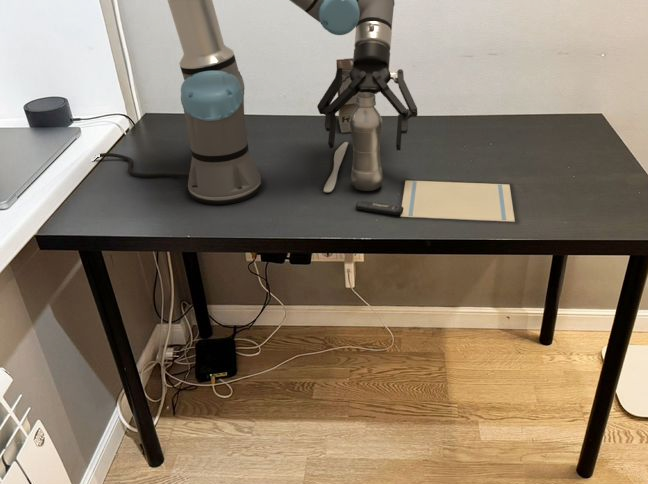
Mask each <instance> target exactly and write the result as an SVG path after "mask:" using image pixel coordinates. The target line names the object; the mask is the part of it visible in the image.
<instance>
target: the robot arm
mask: <svg viewBox="0 0 648 484" xmlns="http://www.w3.org/2000/svg"><path fill="white" fill-rule="evenodd" d="M289 2H291V3H292V4H293V5H295V6H296V7H298V8H299V9H300V10H302V11H304V12H305V13H306V14H307V15H309V16H310V17H311V18H313V19H314V20H316V21H317V22H318V23H320V25H321V26H322V28H323V29H324V30H325V31H327V32H328V33H330V34H332V35H334V36H344V35H348V34H349V33H351V32H352V31H353V30H354V29H355V35H354V46H353V47H354V49H353V67H352V70H351V71H343V70H342V68H338V69H337V68H336V72H335V76H334V78H333V80H332V81H331V83H330V85H329V87H328V88H327V89H326V91H325V93H324V95H322V97H321V99H320V100H319V102H318V104H317V106H316V107H317V110H318V113H319V114H320V115H325V117H324V128H325V131H326V132H328V141H327V144H328V146H329V149H335V138H336V130H337V129H336V126H337V116H336V114H337V113H339V110H340V109H341V108H342V107H343V106H344V105H345V104H346V103H347V102H348V101H349V100H350V99H351V98H352V97H353V96H355V95H356V94H357V93H358V92H361V93H363V92H369V93H373V94H375V95H377V94H378V93H381V95H382V97H384V98H385V99H386V100H387V101H388V102H389V103H390V104H391V106H392V107H393V108H394V109H395V111H396V112H397V113H398V114H397V127H396V140H395V147H396V151H401V148H402V134H403V135H406V134H407V133H408V127H409V119H410V118H416V117H418V106H417V104H416V102H415V100H414V99H413V96H412V94H411V92H410V89H409V88H408V85H407V83H406V81H405V77H404V76H405V75H404V70H403V69H402V68H401V69H400V68H399V69H398V70H397V71H393V72H392V71H390V63H391V62H390V61H391V48H392V47H391V46H392V33H393V32H392V31H393V30H392V29H393V20H394V17H393V16H394V8H395V5H396V4H395V0H289ZM167 4H168V6H169V10H170V13H171V17H172V20H173V23H174V26H175V29H176V33H177V36H178V40H179V42H180V45H181V50H182V52H183V55H182V57H181V59H180V61H179V63H178V64H179V68H180V71H181V75H182V77H183V80H184V81H182V84H181V85H180V101H181V102H180V103H181V105H182V108H183V114H184V120H185V125H186V131H187V137H188V143H189V149H190V153H191V162H190V168H189V172H167V171H166V172H165V171H164V172H150V173H149V172H148V173H147V172H145V173H144V172H136V171H134V170H133V166H134V161H133V159H132V158H131V157H129V156H127V155H123V154H120V153H112V152H103V153H102V152H101V153H99V154H100V157H97V158H96V159H95V160H94V161H93V162H95V161H97V160H98V159H99V158H105V157H111V158H117V159H122V160H125V161H128V166H127V171H128V173H129V174H130V175H131V176H133V177H138V178H154V177H155V178H156V177H157V178H159V177H184V178H185V177H187V178H188V180H187V188H188V194H189V196H190V198H192V199H193V200H194V201H196V202H199V203H202V204H206V205H229V204H235V203H239V202H242V201H245V200H248V199H250V198H252V197H254V196H256V195H257V194H258V193H259V192H260V191H261V188H262V178H261V175H260V172H259V170H258V168H257V165H256V164H255V162H254V159H253V158H252V156H251V155H252V154H251V153H250V149H249V144H248V143H249V141H248V135H247V126H246V118H245V117H246V116H245V90H246V89H245V82H244V77H243V75H242V74H241V71H240V70H239V67H238V64H237V60H236V56H235V53H234V50H233V49H232V48H230V47H228V46H227V45H225V41H224V39H223V36H222V32H221V27H220V24H219V20H218V16H217V13H216V10H215V5H214V1H213V0H167ZM348 78H350V79H351V81H352V82H351V83H350V84H349V85H348V87H347V88H346V89H345V90H344V91H343V92H342V93H341V94H340V95H339V96H338V91H339V89H340V87H341V86H342V83H343V82H345V81H346V80H347V79H348ZM391 80H393V82H394V83H395V84H397V85H398V89H399V91H400V93H401V96H402V98H403V99H404V102H405V105H406V106H407V107H406V106H405V105H404V104H403V103H402V101H401V100H400V99H399V98H398V97H397V95H396V94H395V93H394V92H393V90H392V89H391V88H390V87H389V85H388V84H389V82H390V81H391ZM335 97H336V98H335ZM109 256H110V259H111V262H112V266H113V267H115V265H114V259H113V257H112V254H110V255H109ZM113 270H114V271H116V270H115V268H114V269H113Z"/></svg>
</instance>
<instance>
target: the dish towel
mask: <svg viewBox="0 0 648 484" xmlns="http://www.w3.org/2000/svg"><path fill="white" fill-rule="evenodd" d="M511 192H512V191H511V185H510V184H509V183H508V184H507V183H506V184H505V183H481V182H480V183H478V182H456V181H455V182H453V181H430V180H429V181H428V180H405V182H404V188H403V195H402V202H401V206H402V207H403V212H402V214H401V215H399V217H400V218H412V219H413V218H415V219H437V220H456V221H457V220H458V221H460V220H461V221H479V222H482V221H483V222H502V223H503V222H504V223H515V222H516V221H515V213H514V206H513V199H512V193H511Z"/></svg>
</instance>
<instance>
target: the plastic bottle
mask: <svg viewBox="0 0 648 484" xmlns="http://www.w3.org/2000/svg"><path fill="white" fill-rule="evenodd" d="M356 105H357V108H356V109H355V111H354V112H353V114H352V115H351V117H350V121H349V122H350V129H351V132H350V135H351V141H352V151H353V152H352V154H353V155H352V166H351V172H350V177H351V184H352V185H353V186H354V188H355V189H357V190H359V191H364V192H371V191H375V190H377V189H379V188H380V187H381V185H382V184H383V178H384V175H383V174H384V173H383V168H382V164H381V154H380V153H381V152H380V150H381V148H380V146H381V135H382V128H383V118H382V116H381V114H380V113H379V111H378V109H377V108H376V107H375V106H376V105H377V101H376V94H373V93H369V92H363V93H359V94H357V96H356Z"/></svg>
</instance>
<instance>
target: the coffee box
mask: <svg viewBox="0 0 648 484" xmlns="http://www.w3.org/2000/svg"><path fill="white" fill-rule="evenodd" d="M335 61H336V62H335V63H336V64H335V65H336V70H337V69H338V68H342V70H343V71H351V70H352V67H353V58H342V59H341V58H340V59H336V60H335ZM351 82H352V81H351V79H350V78H348V79H347V80H346V81H345V82H343V83H342V86H341V87H340V89H339V91H338V92H337V97H338V96H339V95H340V94H341V93H342V92H343V91H344V90H345V89H346V88H347V87H348V85H349V84H350V83H351ZM359 93H361V92H358V93H357V94H359ZM357 94H356V95H355V96H353V97H352V98H351V99H350V100H349V101H348V102H347V103H346V104H345V105H344V106H343V107H342V108H341V109H340V110H339V111H338V124H339V129H340V133H341V134H345V133H351V129H350V122H349V121H350V117H351V115H352V114H353V112H354V111H355V109H356V108H357V105H356V96H357Z"/></svg>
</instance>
